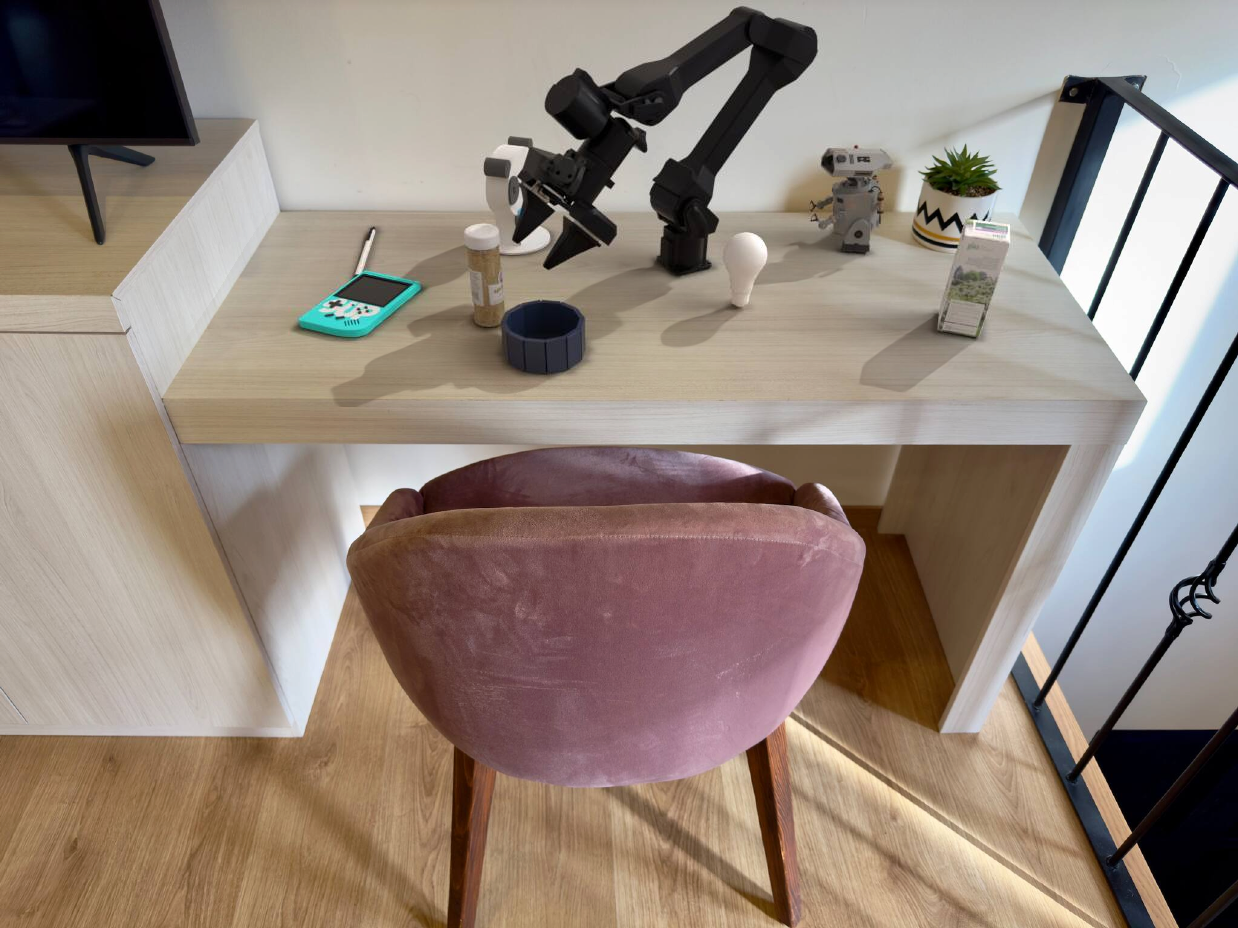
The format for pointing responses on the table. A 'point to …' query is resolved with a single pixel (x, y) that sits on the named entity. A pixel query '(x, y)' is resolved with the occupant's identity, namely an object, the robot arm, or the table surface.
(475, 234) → the sprinkles bottle
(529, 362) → the pot
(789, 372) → the table surface
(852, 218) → the figurine
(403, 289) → the handheld game console
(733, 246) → the lightbulb
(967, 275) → the syrup box
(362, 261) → the pen
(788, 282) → the table surface
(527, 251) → the panda figurine
